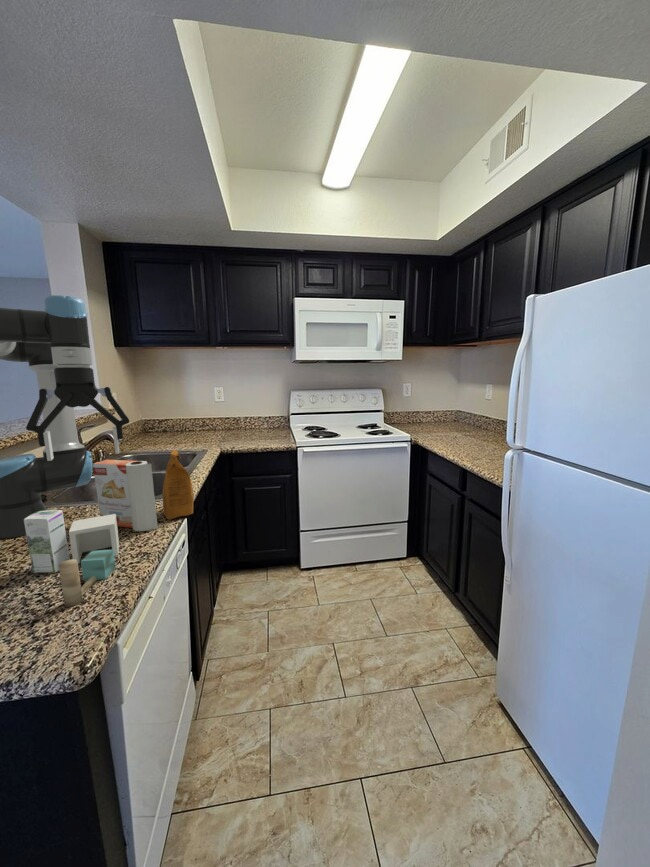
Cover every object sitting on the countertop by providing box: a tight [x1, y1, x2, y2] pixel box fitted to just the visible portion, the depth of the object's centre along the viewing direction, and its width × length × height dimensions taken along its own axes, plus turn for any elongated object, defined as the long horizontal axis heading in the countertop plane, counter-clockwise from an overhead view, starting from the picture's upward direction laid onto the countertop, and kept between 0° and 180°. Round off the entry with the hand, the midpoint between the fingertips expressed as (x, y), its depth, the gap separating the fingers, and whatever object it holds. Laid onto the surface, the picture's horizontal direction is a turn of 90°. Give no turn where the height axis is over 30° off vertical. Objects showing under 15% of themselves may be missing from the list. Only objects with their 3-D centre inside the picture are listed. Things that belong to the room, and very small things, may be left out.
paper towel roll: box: [126, 460, 159, 532], centre depth 112 cm, size 7×6×21 cm
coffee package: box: [162, 449, 195, 520], centre depth 124 cm, size 10×12×22 cm
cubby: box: [68, 514, 120, 565], centre depth 97 cm, size 8×10×9 cm
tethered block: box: [58, 549, 116, 608], centre depth 82 cm, size 15×5×9 cm, turn 6°
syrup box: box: [24, 509, 71, 574], centre depth 90 cm, size 6×6×14 cm
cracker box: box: [92, 459, 137, 529], centre depth 116 cm, size 14×6×21 cm, turn 74°
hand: (85, 456), depth 87 cm, fingers open, 13 cm apart
